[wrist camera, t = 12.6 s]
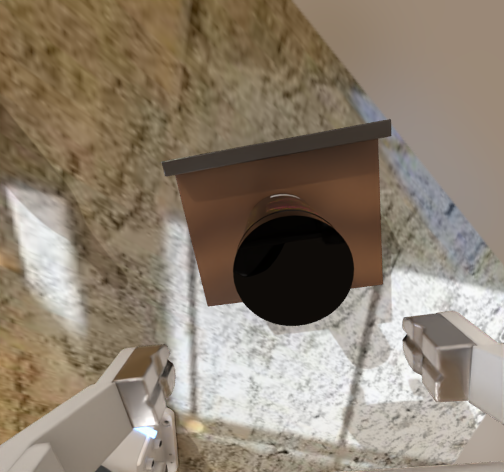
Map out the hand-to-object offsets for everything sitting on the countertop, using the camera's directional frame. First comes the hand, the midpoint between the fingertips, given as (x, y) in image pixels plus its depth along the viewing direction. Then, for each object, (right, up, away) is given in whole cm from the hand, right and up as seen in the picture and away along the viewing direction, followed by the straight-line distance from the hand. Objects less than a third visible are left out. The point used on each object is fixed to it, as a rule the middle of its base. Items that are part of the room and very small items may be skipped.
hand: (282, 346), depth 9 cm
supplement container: (+2, +5, +16) cm, 16 cm away
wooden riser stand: (+2, +8, +26) cm, 27 cm away
